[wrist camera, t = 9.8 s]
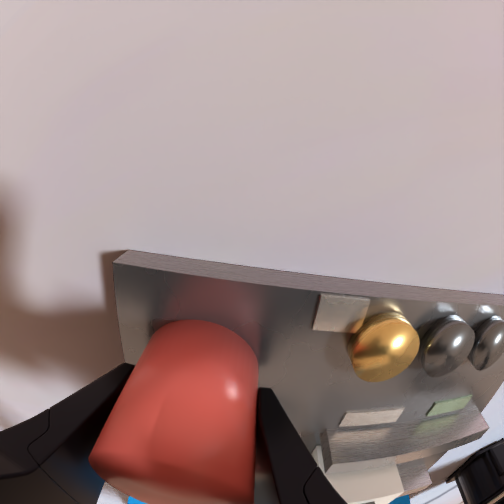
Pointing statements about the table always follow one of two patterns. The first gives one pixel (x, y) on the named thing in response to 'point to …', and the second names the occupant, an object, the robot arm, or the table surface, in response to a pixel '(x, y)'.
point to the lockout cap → (185, 420)
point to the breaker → (364, 483)
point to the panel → (338, 353)
